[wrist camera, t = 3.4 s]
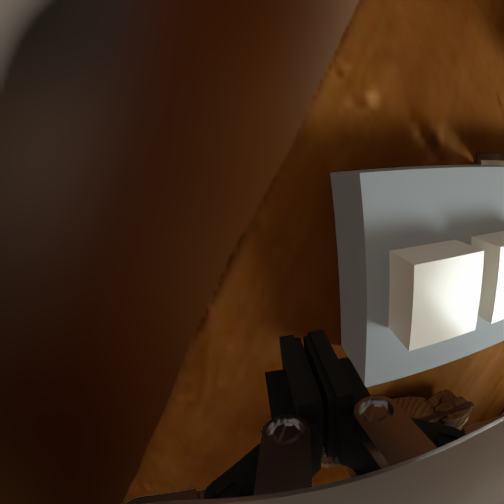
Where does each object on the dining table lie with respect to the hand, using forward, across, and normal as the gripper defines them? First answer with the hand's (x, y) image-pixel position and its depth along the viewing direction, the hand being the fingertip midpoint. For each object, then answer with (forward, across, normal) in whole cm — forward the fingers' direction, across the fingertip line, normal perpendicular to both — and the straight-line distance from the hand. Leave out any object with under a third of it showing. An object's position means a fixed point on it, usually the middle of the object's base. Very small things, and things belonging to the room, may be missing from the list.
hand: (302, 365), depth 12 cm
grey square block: (+12, -12, 0) cm, 17 cm away
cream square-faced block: (+6, -16, 0) cm, 17 cm away
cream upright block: (+6, -9, 0) cm, 11 cm away
